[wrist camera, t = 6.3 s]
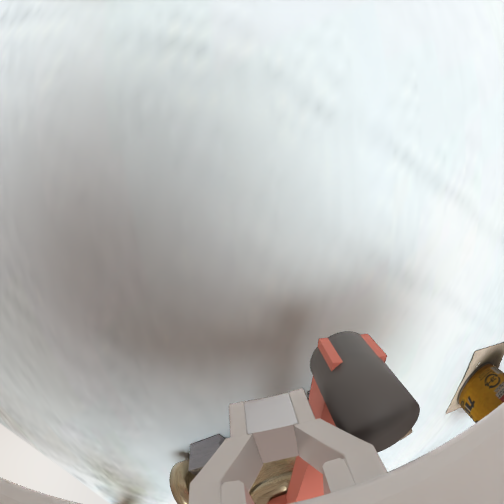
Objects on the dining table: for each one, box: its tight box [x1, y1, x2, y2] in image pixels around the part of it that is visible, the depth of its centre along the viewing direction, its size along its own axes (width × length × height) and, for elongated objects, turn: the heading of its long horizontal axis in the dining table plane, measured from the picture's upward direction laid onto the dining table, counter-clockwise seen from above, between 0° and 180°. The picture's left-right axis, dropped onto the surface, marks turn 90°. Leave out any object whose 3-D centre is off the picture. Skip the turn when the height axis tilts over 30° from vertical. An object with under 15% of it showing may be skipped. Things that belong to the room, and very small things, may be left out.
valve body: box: [170, 391, 412, 504], centre depth 17 cm, size 18×6×7 cm, turn 122°
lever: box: [266, 332, 420, 504], centre depth 10 cm, size 4×16×4 cm, turn 178°
